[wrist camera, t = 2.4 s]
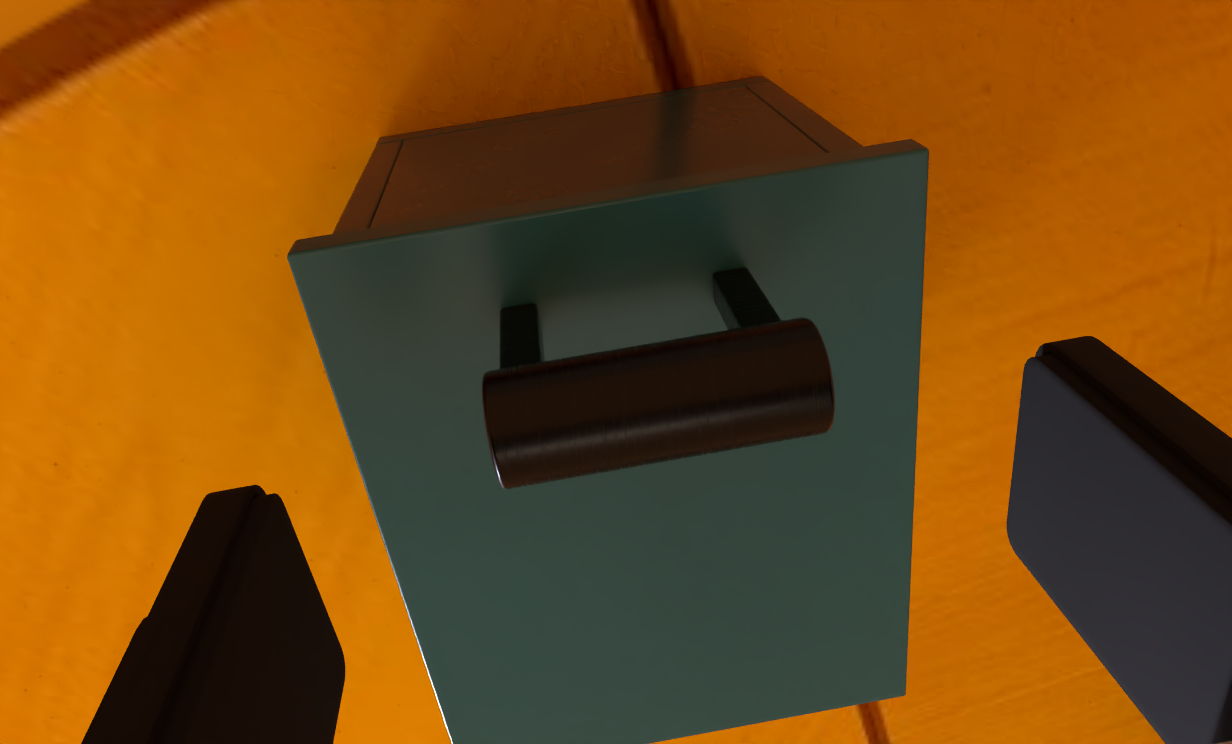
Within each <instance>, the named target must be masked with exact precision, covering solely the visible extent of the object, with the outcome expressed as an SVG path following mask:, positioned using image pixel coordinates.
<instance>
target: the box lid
mask: <svg viewBox="0 0 1232 744" xmlns="http://www.w3.org/2000/svg"><path fill="white" fill-rule="evenodd" d="M928 160H929V151H928V149H927V148H926V147H924V146H922V145H921V144H919V143H917V142H916V141H914V140H912V139H908V140H902V141H896V142H890V143H884V144H878V145H871V146H865V147H859V148H853V149H847V150H841V151H835V152H829V153H823V154H817V155H811V156H805V157H799V158H792V159H786V160H780V161H774V162H768V163H762V164H756V165H750V166H744V167H738V168H732V169H726V170H720V171H713V172H707V173H701V174H695V175H689V176H683V177H677V178H671V179H665V180H659V181H653V182H647V183H641V184H634V185H628V186H622V187H616V188H610V189H604V190H598V191H592V192H586V193H580V194H574V195H568V196H562V197H555V198H549V199H543V200H537V201H531V202H525V203H519V204H513V205H507V206H501V207H495V208H489V209H483V210H476V211H470V212H464V213H458V214H452V215H446V216H440V217H434V218H428V219H422V220H416V221H410V222H404V223H397V224H391V225H385V226H379V227H373V228H367V229H361V230H355V231H349V232H343V233H337V234H331V235H325V236H318V237H312V238H306V239H300V240H297V241H295V243H294V244H293V246H292V248H291V249H290V251H289V253H288V255H287V258H288V261H289V264H290V267H291V270H292V273H293V276H294V279H295V282H296V285H297V288H298V291H299V294H300V296H301V299H302V302H303V305H304V308H305V311H306V314H307V317H308V320H309V323H310V326H311V329H312V332H313V335H314V338H315V341H316V344H317V347H318V350H319V353H320V356H321V359H322V361H323V364H324V367H325V370H326V373H327V376H328V379H329V382H330V385H331V388H332V391H333V394H334V397H335V400H336V403H337V406H338V409H339V412H340V415H341V418H342V421H343V424H344V426H345V429H346V432H347V435H348V438H349V441H350V444H351V447H352V450H353V453H354V456H355V459H356V462H357V465H358V468H359V471H360V474H361V477H362V480H363V483H364V486H365V489H366V491H367V494H368V497H369V500H370V503H371V506H372V509H373V512H374V515H375V518H376V521H377V524H378V527H379V530H380V533H381V536H382V539H383V542H384V545H385V548H386V551H387V554H388V556H389V559H390V562H391V565H392V568H393V571H394V574H395V577H396V580H397V583H398V586H399V589H400V592H401V595H402V598H403V601H404V604H405V607H406V610H407V613H408V616H409V619H410V621H411V624H412V627H413V630H414V633H415V636H416V639H417V642H418V645H419V648H420V651H421V654H422V657H423V660H424V663H425V666H426V669H427V672H428V675H429V678H430V681H431V684H432V686H433V689H434V692H435V695H436V698H437V701H438V704H439V707H440V710H441V713H442V716H443V719H444V722H445V725H446V728H447V731H448V734H449V737H450V740H451V743H452V744H649V743H654V742H659V741H665V740H670V739H676V738H681V737H686V736H692V735H697V734H702V733H708V732H713V731H718V730H724V729H729V728H734V727H740V726H745V725H750V724H756V723H761V722H766V721H772V720H777V719H782V718H788V717H793V716H799V715H804V714H809V713H815V712H820V711H825V710H831V709H836V708H841V707H847V706H852V705H857V704H863V703H868V702H873V701H879V700H884V699H889V698H895V697H900V696H904V695H905V694H906V671H907V647H908V624H909V601H910V578H911V555H912V531H913V508H914V485H915V462H916V439H917V415H918V392H919V369H920V346H921V323H922V299H923V276H924V253H925V230H926V207H927V183H928Z"/></svg>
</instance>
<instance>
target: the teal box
mask: <svg viewBox="0 0 1232 744" xmlns="http://www.w3.org/2000/svg"><path fill="white" fill-rule="evenodd" d="M859 147H863V146H862V145H860V144H859V143H858V142H856V141H855V140H853V139H852V138H851V137H849V136H848V135H846V134H845V133H844V132H842V131H841V130H839V129H838V128H836V127H835V126H834V125H832V124H831V123H829V122H828V121H827V120H825V119H824V118H822V117H821V116H820V115H818V114H817V113H815V112H814V111H813V110H811V109H810V108H808V107H807V106H805V105H804V104H803V103H801V102H800V101H798V100H797V99H796V98H794V97H793V96H791V95H790V94H789V93H787V92H786V91H784V90H783V89H781V88H780V87H779V86H777V85H776V84H774V83H773V82H772V81H770V80H768V79H767V78H766V77H764V76H760V77H754V78H748V79H742V80H735V81H729V82H723V83H717V84H711V85H704V86H698V87H692V88H686V89H680V90H673V91H667V92H661V93H655V94H648V95H642V96H636V97H630V98H624V99H617V100H611V101H605V102H599V103H593V104H586V105H580V106H574V107H568V108H562V109H555V110H549V111H543V112H537V113H531V114H524V115H518V116H512V117H506V118H499V119H493V120H487V121H481V122H475V123H468V124H462V125H456V126H450V127H444V128H437V129H431V130H425V131H419V132H413V133H406V134H400V135H394V136H388V137H381V138H379V140H378V142H377V144H376V147H375V149H374V151H373V153H372V155H371V157H370V159H369V161H368V163H367V165H366V167H365V169H364V171H363V173H362V175H361V177H360V179H359V181H358V183H357V185H356V187H355V189H354V191H353V193H352V195H351V197H350V199H349V201H348V204H347V206H346V208H345V210H344V212H343V214H342V216H341V218H340V220H339V222H338V224H337V226H336V228H335V230H334V232H333V234H337V233H343V232H349V231H355V230H361V229H367V228H373V227H379V226H385V225H391V224H397V223H404V222H410V221H416V220H422V219H428V218H434V217H440V216H446V215H452V214H458V213H464V212H470V211H476V210H483V209H489V208H495V207H501V206H507V205H513V204H519V203H525V202H531V201H537V200H543V199H549V198H555V197H562V196H568V195H574V194H580V193H586V192H592V191H598V190H604V189H610V188H616V187H622V186H628V185H634V184H641V183H647V182H653V181H659V180H665V179H671V178H677V177H683V176H689V175H695V174H701V173H707V172H713V171H720V170H726V169H732V168H738V167H744V166H750V165H756V164H762V163H768V162H774V161H780V160H786V159H792V158H799V157H805V156H811V155H817V154H823V153H829V152H835V151H841V150H847V149H853V148H859Z"/></svg>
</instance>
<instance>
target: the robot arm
mask: <svg viewBox="0 0 1232 744" xmlns="http://www.w3.org/2000/svg"><path fill="white" fill-rule="evenodd" d="M1007 533H1008V538H1009V541H1010V544H1011V546H1012V548H1013V550H1014V552H1015V553H1016V555H1017V556H1018V557H1019V558H1020V560H1021V561H1022V562H1023V564H1024V565H1025V566H1026V567H1027V569H1028V570H1029V571H1030V572H1031V574H1032V575H1033V576H1034V577H1035V579H1036V580H1037V581H1038V583H1039V584H1040V585H1041V586H1042V588H1043V589H1044V590H1045V591H1046V593H1047V594H1048V595H1049V596H1050V598H1051V599H1052V600H1053V602H1054V603H1055V604H1056V605H1057V607H1058V608H1059V609H1060V610H1061V612H1062V613H1063V614H1064V615H1065V617H1066V618H1067V619H1068V621H1069V622H1070V623H1071V624H1072V626H1073V627H1074V628H1075V629H1076V631H1077V632H1078V633H1079V634H1080V636H1081V637H1082V638H1083V640H1084V641H1085V642H1086V643H1087V645H1088V646H1089V647H1090V648H1091V650H1092V651H1093V652H1094V653H1095V655H1096V656H1097V657H1098V659H1099V660H1100V661H1101V662H1102V664H1103V665H1104V666H1105V667H1106V669H1107V670H1108V671H1109V673H1110V674H1111V675H1112V676H1113V678H1114V679H1115V680H1116V681H1117V683H1118V684H1119V685H1120V686H1121V688H1122V689H1123V690H1124V692H1125V693H1126V694H1127V695H1128V697H1129V698H1130V699H1131V700H1132V702H1133V703H1134V704H1135V705H1136V707H1137V708H1138V709H1139V711H1140V712H1141V713H1142V714H1143V716H1144V717H1145V718H1146V719H1147V721H1148V722H1149V723H1150V724H1151V726H1152V727H1153V728H1154V730H1155V731H1156V732H1157V733H1158V735H1159V736H1160V737H1161V738H1162V740H1163V741H1164V742H1165V743H1166V744H1232V438H1231V437H1229V436H1228V435H1227V434H1225V433H1224V432H1222V431H1221V430H1220V429H1218V428H1217V427H1216V426H1214V425H1213V424H1212V423H1210V422H1209V421H1208V420H1206V419H1205V418H1204V417H1202V416H1201V415H1200V414H1198V413H1197V412H1195V411H1194V410H1193V409H1191V408H1190V407H1189V406H1187V405H1186V404H1185V403H1183V402H1182V401H1181V400H1179V399H1178V398H1177V397H1175V396H1174V395H1173V394H1171V393H1170V392H1168V391H1167V390H1166V389H1164V388H1163V387H1162V386H1160V385H1159V384H1158V383H1156V382H1155V381H1154V380H1152V379H1151V378H1150V377H1148V376H1147V375H1146V374H1144V373H1143V372H1141V371H1140V370H1139V369H1137V368H1136V367H1135V366H1133V365H1132V364H1131V363H1129V362H1128V361H1127V360H1125V359H1124V358H1123V357H1121V356H1120V355H1119V354H1117V353H1116V352H1115V351H1113V350H1112V349H1110V348H1109V347H1108V346H1106V345H1105V344H1104V343H1102V342H1101V341H1100V340H1098V339H1096V338H1094V337H1092V336H1084V337H1078V338H1073V339H1067V340H1062V341H1056V342H1050V343H1045V344H1043V345H1042V346H1040V347H1039V349H1038V351H1037V352H1036V356H1035V357H1031V358H1030V359H1028V360H1027V362H1026V363H1025V367H1024V372H1023V381H1022V390H1021V399H1020V408H1019V417H1018V426H1017V435H1016V444H1015V453H1014V462H1013V471H1012V480H1011V489H1010V498H1009V507H1008V516H1007ZM344 681H345V661H344V655H343V651H342V648H341V646H340V643H339V641H338V638H337V636H336V633H335V631H334V628H333V626H332V623H331V621H330V618H329V616H328V613H327V611H326V608H325V606H324V603H323V601H322V598H321V596H320V593H319V591H318V588H317V586H316V583H315V581H314V578H313V576H312V573H311V571H310V568H309V566H308V563H307V561H306V558H305V556H304V553H303V551H302V548H301V546H300V543H299V541H298V538H297V536H296V533H295V531H294V528H293V526H292V523H291V521H290V518H289V516H288V513H287V511H286V508H285V506H284V503H283V501H282V499H281V498H280V496H279V495H278V494H275V493H274V494H269V495H266V493H265V492H264V490H263V489H262V488H261V487H260V486H258V485H252V486H246V487H240V488H235V489H229V490H224V491H218V492H212V493H209V494H207V495H206V496H205V498H204V499H203V501H202V503H201V505H200V507H199V509H198V512H197V514H196V516H195V518H194V520H193V522H192V524H191V526H190V528H189V530H188V533H187V535H186V537H185V539H184V541H183V543H182V545H181V547H180V549H179V552H178V554H177V556H176V558H175V560H174V562H173V564H172V566H171V568H170V570H169V573H168V575H167V577H166V579H165V581H164V583H163V585H162V587H161V589H160V591H159V594H158V596H157V598H156V600H155V602H154V604H153V606H152V608H151V610H150V612H149V615H148V617H146V618H144V619H143V620H142V622H141V623H140V625H139V626H138V628H137V629H136V631H135V633H134V635H133V637H132V639H131V642H130V644H129V646H128V648H127V650H126V652H125V654H124V656H123V658H122V660H121V662H120V664H119V666H118V668H117V671H116V673H115V675H114V677H113V679H112V681H111V683H110V685H109V687H108V689H107V691H106V693H105V695H104V697H103V700H102V702H101V704H100V706H99V708H98V710H97V712H96V714H95V716H94V718H93V720H92V722H91V724H90V727H89V729H88V731H87V733H86V735H85V737H84V739H83V741H82V743H81V744H333V740H334V735H335V729H336V724H337V719H338V713H339V708H340V703H341V697H342V692H343V687H344Z"/></svg>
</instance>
